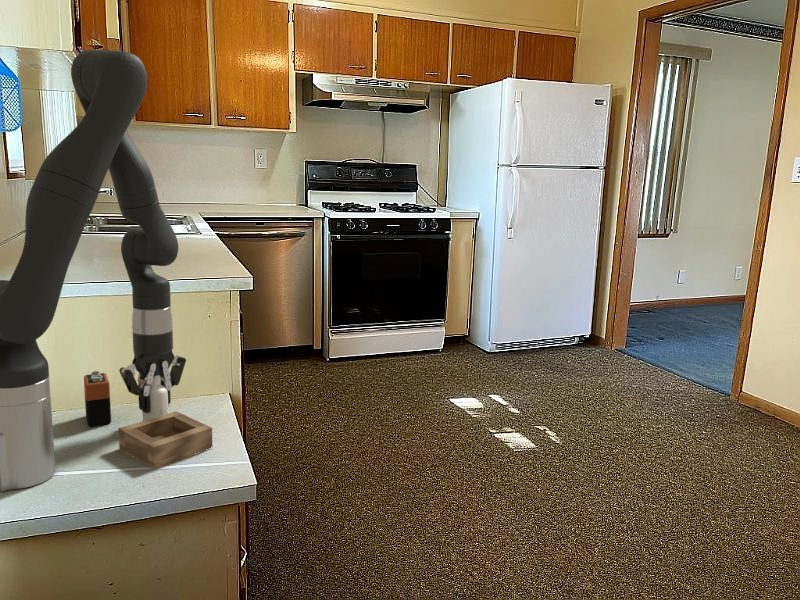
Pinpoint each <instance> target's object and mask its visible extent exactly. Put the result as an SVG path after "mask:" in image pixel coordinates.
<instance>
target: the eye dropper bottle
mask: <svg viewBox="0 0 800 600" xmlns="http://www.w3.org/2000/svg"><path fill="white" fill-rule="evenodd" d="M149 396H150V412H149V413H144V412H142V411H141V412H142V421H145V420H148V419H151V418H155V417H158V416H162V415H165V414H168V413H169V407H168V392H167V390H166V388H165V387H164V386H162V385H161V378H160V375H158V376H154V378H153V382H152V385H151V386H150V391H149Z"/></svg>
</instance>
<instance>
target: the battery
mask: <svg viewBox="0 0 800 600" xmlns="http://www.w3.org/2000/svg"><path fill="white" fill-rule="evenodd" d="M110 386H111V384H110V381H109V378H108V375H107V373H105V372H103V373H102V372H100V371H98V370H93V371H91V374H85V375H84V376H83V387H84V406H85V416H86V424H87V426H88V427H95V426H102V425H103V426H104V425H108V424H109V425H110V424H111V422H112V410H111V388H110Z"/></svg>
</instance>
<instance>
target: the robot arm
mask: <svg viewBox="0 0 800 600" xmlns="http://www.w3.org/2000/svg"><path fill="white" fill-rule="evenodd" d="M71 63H72V64H71V68H70V76H71V82H72V85H73V88H74V91H75V93H76V96H77V98H78V100H79V102H80V105H81V106H82V108H83V111H84V113H85V114H84V115H83V117H82V118H81V120H80V122H79V123H78V124H77V126H76V127H75V128H73V130H72V131H71V132H70V133H68V134H67V136H65V137H64V138H63V139H62V140H61V141H60V142H59V143H58V144H57V145H56V146H55V147H54V148H53V149H52V150H51V151H50V153H48V154H47V156H46V157H45V159H44V160H43V162H42V163H41V166H40V168H39V170H38V172H37V175H36V176H35V178H34V181H33V183H32V186H31V188H30V190H29V194H28V196H27V199H26V207H25V224H24V225H25V230H24V231H25V234H24V235H25V236H24V241H23V243H24V244H23V248H22V251H21V252H22V253H21V255H20V258H19V260H18V263H17V265H16V266H15V269H14V271H13V273H12V274H11V277H10V279H9V280H7V279H0V492H5V491H9V490H18V489H25V488H29V487H34V486H37V485H40V484H42V483H44V482H46V481H47V480H50V479H51V478H52V477H53V476H54V475H55V473H56V457H55V455H56V454H55V443H54V431H53V430H54V429H53V428H54V427H53V415H52V414H53V413H52V398H51V383H50V382H51V381H50V368H49V362H48V360H47V358H46V357H45V355H44V354H43V353H42V351H41V349H40V348H39V346H38V345H39V344H38V342H37V340H38V339H40V337H42V336H43V335H44V334H45V333H46V332H47V330H48V329H49V328H50V326H51V325H52V322H53V319H54V317H55V314H56V311H57V307H58V305H59V304H58V303H59V301H60V298H61V293H62V289H63V286H64V282H65V280H66V279H65V278H66V276H67V272H68V269H69V266H70V263H71V261H72V259H73V256H74V254H75V253H76V252H75V251H76V249H77V247H78V244H79V242H80V240H81V236H82V233H83V231H84V229H85V226H86V224H87V222H88V219H89V217H90V215H91V214H92V211H93V208H94V206H95V204H96V201H97V199H98V197H99V194H100V191H101V189H102V185H103V182H104V180H105V178H106V175H107V173H108V171H109V174H110V178H111V180H112V184H113V189H114V192H115V196H116V199H117V203H118V207H119V211H120V214H121V215H122V217H123V218H124V219H125V220H127V221H128V222H131V223H133V224H136V225H138V226H139V227H140V228H138V227H135V228H131V229H129V230H127V231H126V232H125V234H124V235H123V237H122V240H121V243H120V252H121V257H122V261H123V263H124V267H125V270H126V272H127V276H128V279H129V282H130V284H131V288H132V295H131V296H132V314H131V316H132V317H131V325H132V326H131V330H132V348H133V349H132V350H133V351H132V352H133V355H134V357H133V359H132V361H131V362H132V363H131V364H130V365H128V366H126V367H123V366H122V367H120V368H119V370H118V371H119V374H120V376H121V378H122V380H123V382H124V384H125V386H126V388H127V391H128V392H129V393H130V394H132V395H134V396H138V408H139V410H140V411H141V412H144V413H149V412H150V396H149V391H150V386H151V385H152V382H153V378H154V376H158V375H160V378H161V385H162V386H164V387H165V388H166V390H167V392H168V408H169V406H170V404H171V402H172V401H171V400H172V399H171V390H172V388H173V387H174V386H179V384H180V382H181V379H182V375H183V372H184V369H185V365H186V362H187V359H186V357H184V356H181V355H175V354H174V352H173V349H174V335H173V334H174V329H173V327H174V326H173V313H172V308H171V307H172V306H171V283H170V281H169V280H168V279H167V278H165V277H164V276H162V275H161V276H160V275H159V274H157V273H155V272H154V269H153V267H152V266H155V267H156V266H157V267H167V266H170V265H172V264H173V263H174V262H175V261H176V259H177V257H178V254H179V242H178V238H177V235H176V233H175V231H174V229H173V228H172V226H171V225H172V224H170V222H169V220H168V218H167V216H166V214H165V213H164V211H163V209H162V207H161V205H160V201H159V200H160V199H159V197H158V192H157V189H156V183H155V180H154V177H153V175H152V171H151V168H150V167H149V165H148V163H147V161H146V160H145V158H144V156H143V155H142V154H141V151H140V150H139V148H138V147H137V146H136V144H135V142H134V141H133V138H131V136H130V134H129V131H128V130H127V129H128V128H129V126H130V124H131V122H132V120H133V119H134V118H135V116H136V114H137V112H138V110H139V108H140V106H141V104H142V103H143V100H144V98H145V96H146V93H147V87H148V73H147V70H146V67H145V65H144V62H142V60H141V59H140V58H139V57H138V56H137V55H135V54H134V53H131V52H127V51H123V50H116V49H115V50H112V49H111V50H109V49H108V50H106V49H88V50H83V51H82V52H81V51H80V52H79V53H78V54H77V55H76V56H75V58H74V59H73V60H72V62H71ZM170 368H171V369H170ZM136 371H137V372H138V375H137V381H136V378H135V376H136Z"/></svg>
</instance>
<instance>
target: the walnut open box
mask: <svg viewBox="0 0 800 600" xmlns="http://www.w3.org/2000/svg"><path fill="white" fill-rule="evenodd" d="M118 445H119V446H118V448H119V450H120V451H122V452H124V453H125V452H126V454H127V453H128V455H129V454H130V455H129V456H131V457H132V456H134V457H135V458H134V457H133V458H134V459H136V458H137V459H139V460H140V461H139V460H138V461H139V462H141V461H142V462H143V464H144V465H146V466H148V467H149V468H151V469H153V470H156V469H159V468H162V467H165V466H167V465H171V464H174V463H176V462H178V460H179V461H181V459H182V460H184V459H187V458H189V457H188V456H190V455H193V454H195V453H198V452H201V451H203V452H205V451H204V450H206V449H209V448H211V447H212V448H213V427H211V426H209V425H207V424H205V423H203V422H201V421H198V420H196V419H194V418H192V417H191V416H187V415H185V414H184V413H181V412H179V411H173V412H168V414H165V415H162V416H158V417H155V418H151V419H148V420H145V421H143V420H141V421H139V422H135V423H132V424H128V425H124V426H122V427H118ZM209 450H210V449H209ZM206 451H207V450H206ZM201 453H202V452H201ZM198 454H199V453H198ZM195 455H196V454H195ZM193 456H194V455H193ZM186 457H187V458H186ZM190 457H191V456H190ZM183 458H184V459H183ZM137 459H136V460H137ZM142 462H141V463H142Z"/></svg>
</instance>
